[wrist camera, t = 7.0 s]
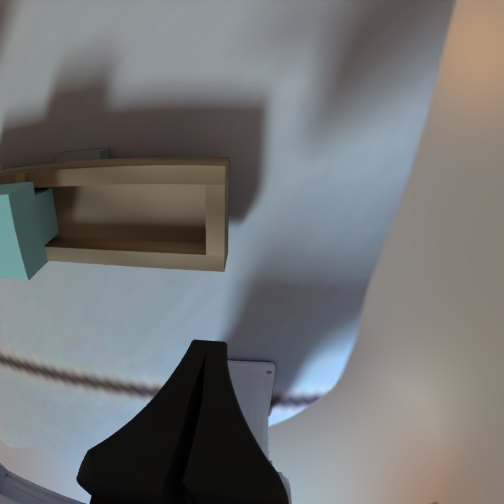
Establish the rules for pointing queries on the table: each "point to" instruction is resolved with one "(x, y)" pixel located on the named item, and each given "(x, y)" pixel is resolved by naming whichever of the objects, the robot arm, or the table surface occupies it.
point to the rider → (25, 229)
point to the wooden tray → (135, 209)
